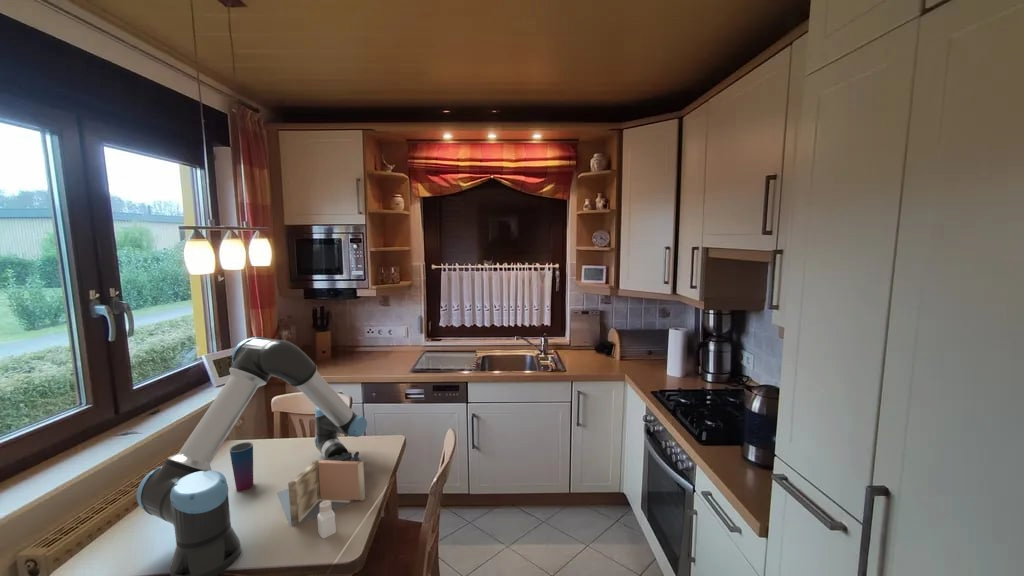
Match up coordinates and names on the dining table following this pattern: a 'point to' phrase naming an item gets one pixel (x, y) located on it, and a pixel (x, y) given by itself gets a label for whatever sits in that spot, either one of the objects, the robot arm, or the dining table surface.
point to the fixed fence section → (304, 492)
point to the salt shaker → (326, 519)
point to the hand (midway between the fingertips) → (356, 480)
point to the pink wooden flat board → (341, 480)
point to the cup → (242, 465)
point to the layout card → (313, 510)
